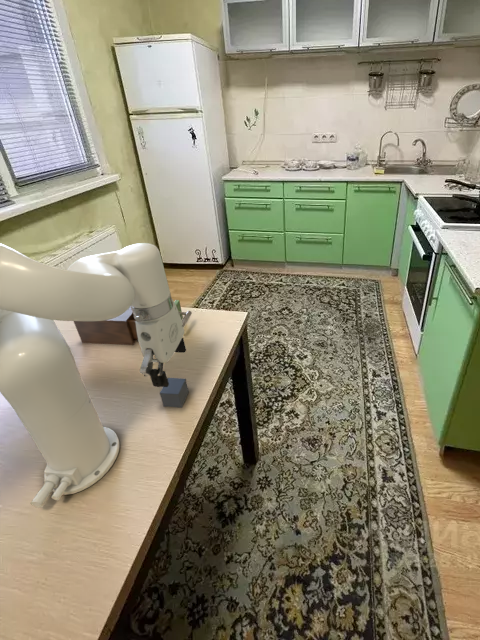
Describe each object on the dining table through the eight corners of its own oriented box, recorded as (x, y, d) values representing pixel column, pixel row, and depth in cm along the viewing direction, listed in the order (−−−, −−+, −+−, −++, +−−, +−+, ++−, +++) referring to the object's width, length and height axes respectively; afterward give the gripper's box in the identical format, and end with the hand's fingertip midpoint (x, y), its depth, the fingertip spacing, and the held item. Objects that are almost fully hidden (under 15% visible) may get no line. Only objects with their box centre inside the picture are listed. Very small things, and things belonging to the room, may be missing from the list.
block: (181, 407, 73) (178, 394, 71) (163, 406, 74) (159, 393, 72) (189, 391, 77) (185, 378, 75) (171, 390, 78) (167, 377, 76)
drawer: (196, 318, 101) (192, 300, 98) (182, 343, 91) (178, 324, 88) (139, 316, 103) (134, 298, 100) (119, 340, 93) (112, 321, 90)
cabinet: (153, 317, 103) (147, 295, 99) (133, 345, 92) (125, 321, 88) (107, 316, 105) (100, 294, 101) (82, 343, 94) (72, 319, 90)
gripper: (150, 335, 55) (171, 402, 63) (186, 281, 71) (200, 340, 79) (109, 334, 56) (135, 400, 64) (154, 280, 71) (170, 339, 79)
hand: (171, 367), depth 71 cm, fingers open, 9 cm apart
